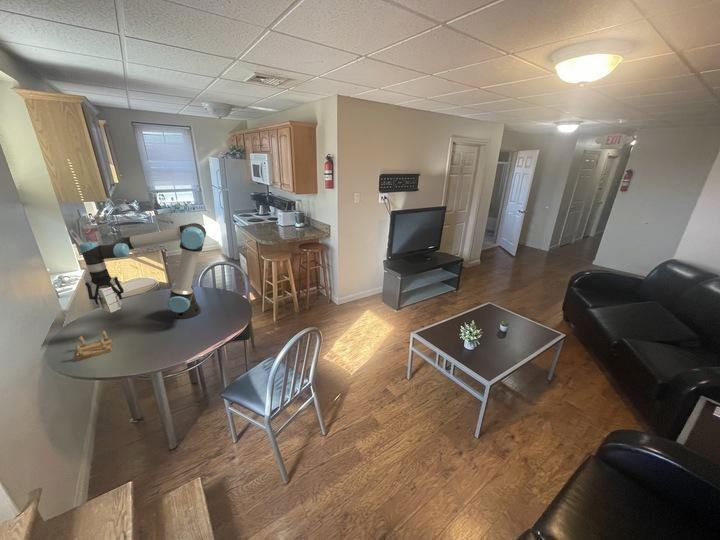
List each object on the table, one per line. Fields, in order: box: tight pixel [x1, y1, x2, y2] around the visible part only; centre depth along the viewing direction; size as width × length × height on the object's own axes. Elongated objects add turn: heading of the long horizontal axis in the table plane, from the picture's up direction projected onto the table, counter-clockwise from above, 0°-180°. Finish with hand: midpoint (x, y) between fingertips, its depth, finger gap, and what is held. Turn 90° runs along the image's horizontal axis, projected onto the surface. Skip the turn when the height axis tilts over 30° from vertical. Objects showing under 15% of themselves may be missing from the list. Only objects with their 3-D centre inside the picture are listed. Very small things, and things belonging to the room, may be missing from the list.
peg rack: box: [74, 329, 114, 362], centre depth 156 cm, size 12×14×8 cm
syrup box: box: [98, 285, 122, 313], centre depth 162 cm, size 6×6×14 cm
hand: (111, 306), depth 164 cm, fingers closed on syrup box, 8 cm apart
